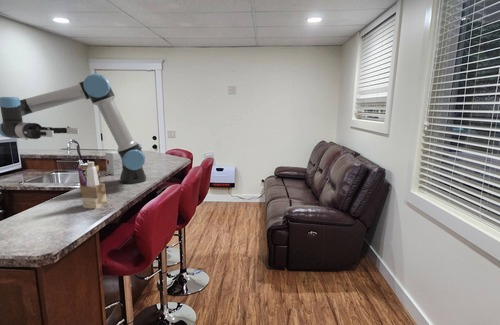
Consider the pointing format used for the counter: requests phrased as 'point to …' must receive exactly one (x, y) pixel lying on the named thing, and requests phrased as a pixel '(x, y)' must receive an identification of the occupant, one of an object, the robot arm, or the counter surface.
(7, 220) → the counter surface
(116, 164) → the supplement box
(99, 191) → the tower top
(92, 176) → the salt shaker
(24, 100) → the robot arm
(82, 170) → the candy box
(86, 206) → the tower bottom
